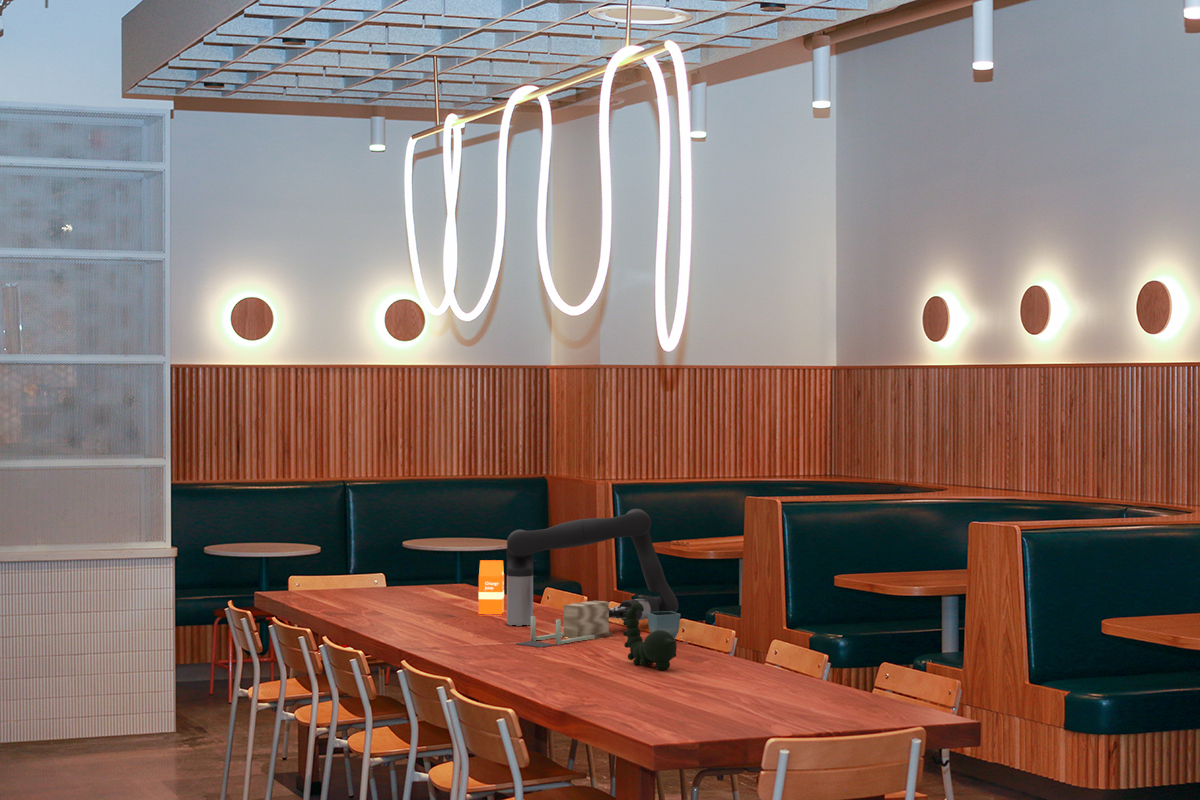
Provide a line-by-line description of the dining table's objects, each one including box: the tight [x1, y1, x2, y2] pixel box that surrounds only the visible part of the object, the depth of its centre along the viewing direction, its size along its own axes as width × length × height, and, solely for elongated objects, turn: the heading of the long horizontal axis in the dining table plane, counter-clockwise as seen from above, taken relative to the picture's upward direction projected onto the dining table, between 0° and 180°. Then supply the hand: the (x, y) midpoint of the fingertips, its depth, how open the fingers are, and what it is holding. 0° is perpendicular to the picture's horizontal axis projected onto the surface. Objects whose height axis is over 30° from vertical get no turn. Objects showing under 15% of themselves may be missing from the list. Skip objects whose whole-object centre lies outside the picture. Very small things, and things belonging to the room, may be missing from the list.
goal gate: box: [530, 615, 595, 646], centre depth 446 cm, size 18×13×8 cm
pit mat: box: [515, 640, 557, 648], centre depth 436 cm, size 7×11×1 cm, turn 50°
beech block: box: [563, 600, 610, 638], centre depth 455 cm, size 16×6×11 cm, turn 140°
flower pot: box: [647, 611, 681, 640], centre depth 446 cm, size 9×9×9 cm
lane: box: [594, 631, 613, 639], centre depth 456 cm, size 9×13×1 cm
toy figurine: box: [622, 603, 678, 671], centre depth 397 cm, size 9×19×25 cm
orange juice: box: [478, 559, 505, 615], centre depth 511 cm, size 8×9×20 cm
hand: (602, 615), depth 462 cm, fingers closed
